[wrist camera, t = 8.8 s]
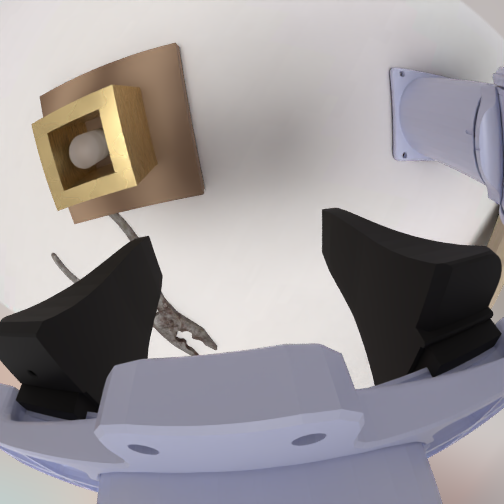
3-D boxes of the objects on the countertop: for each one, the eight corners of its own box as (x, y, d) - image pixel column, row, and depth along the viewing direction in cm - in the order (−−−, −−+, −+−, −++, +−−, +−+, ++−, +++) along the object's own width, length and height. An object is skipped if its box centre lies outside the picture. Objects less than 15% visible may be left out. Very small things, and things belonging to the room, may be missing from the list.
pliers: (82, 188, 19) (260, 316, 27) (87, 185, 19) (259, 310, 28) (46, 264, 22) (200, 361, 30) (50, 259, 22) (200, 355, 31)
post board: (179, 46, 15) (160, 26, 9) (204, 187, 20) (197, 220, 15) (49, 95, 14) (2, 102, 9) (82, 216, 20) (48, 253, 15)
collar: (140, 87, 15) (112, 84, 10) (157, 163, 18) (137, 185, 13) (71, 114, 15) (31, 124, 10) (90, 184, 18) (57, 210, 13)
